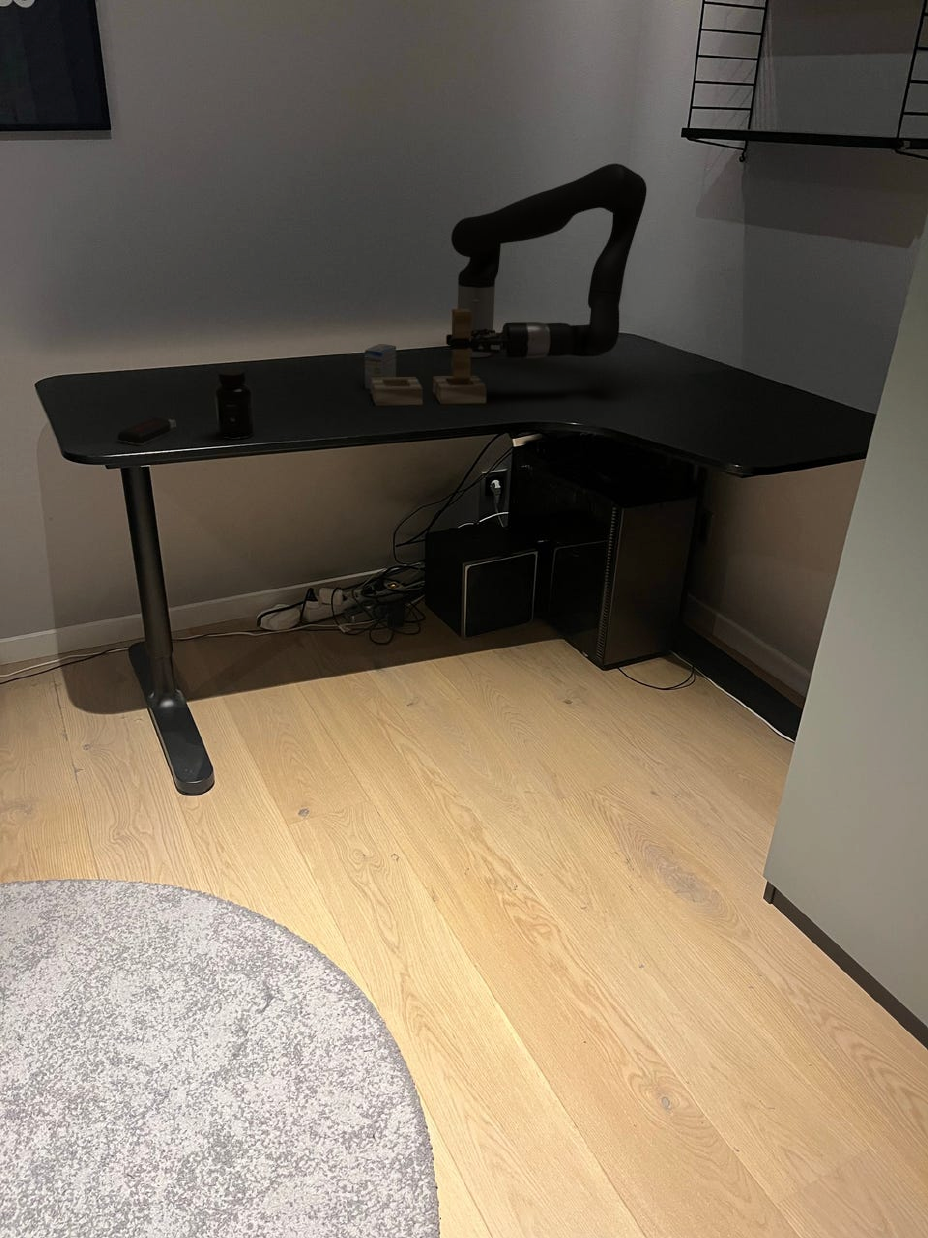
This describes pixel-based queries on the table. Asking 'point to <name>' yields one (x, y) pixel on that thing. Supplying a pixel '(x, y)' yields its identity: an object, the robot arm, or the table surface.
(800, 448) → the table surface
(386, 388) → the end cap
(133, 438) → the usb drive
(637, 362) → the table surface
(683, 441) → the table surface
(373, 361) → the medicine box
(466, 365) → the tall brown wooden block
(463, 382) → the end cap
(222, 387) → the supplement bottle
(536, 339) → the robot arm
